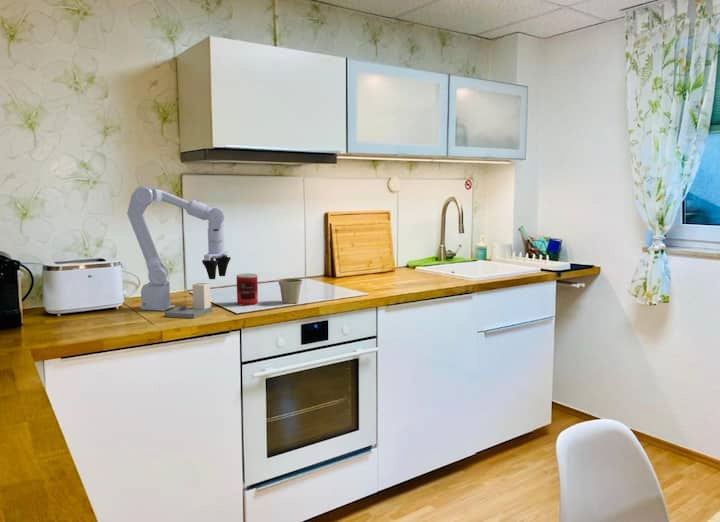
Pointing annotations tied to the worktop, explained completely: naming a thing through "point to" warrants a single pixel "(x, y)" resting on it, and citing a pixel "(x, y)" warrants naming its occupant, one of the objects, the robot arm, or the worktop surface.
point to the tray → (186, 312)
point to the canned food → (247, 289)
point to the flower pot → (290, 290)
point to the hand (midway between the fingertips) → (217, 277)
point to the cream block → (201, 296)
